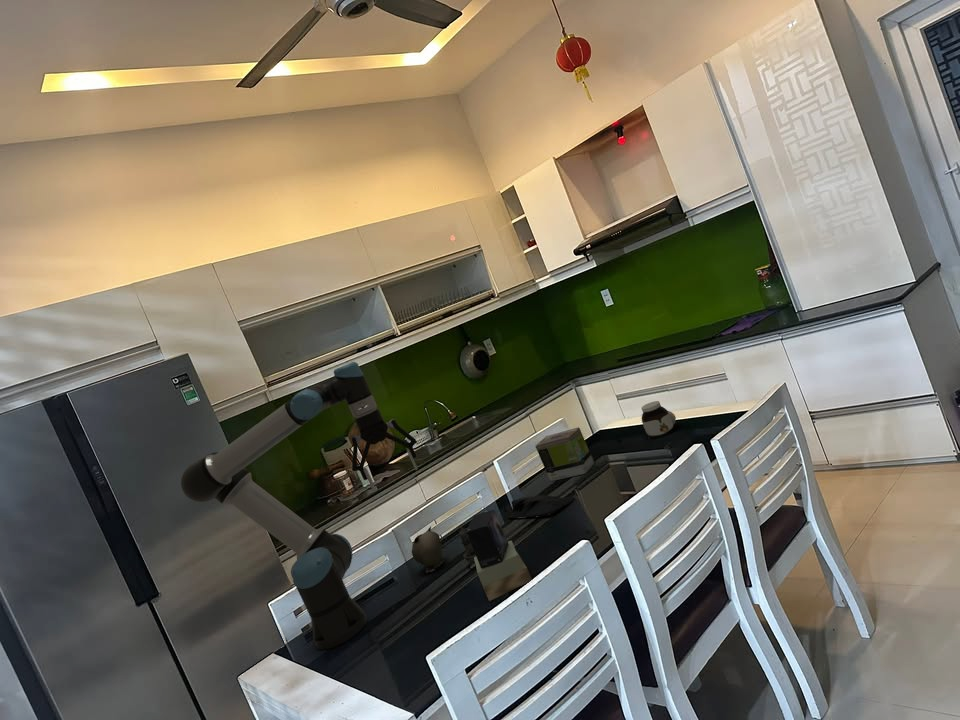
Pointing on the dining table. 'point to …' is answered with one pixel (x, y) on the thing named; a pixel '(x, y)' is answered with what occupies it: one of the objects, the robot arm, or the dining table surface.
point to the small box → (487, 538)
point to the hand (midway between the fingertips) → (395, 478)
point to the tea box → (565, 454)
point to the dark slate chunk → (538, 505)
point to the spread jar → (657, 419)
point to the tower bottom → (507, 583)
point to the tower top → (500, 567)
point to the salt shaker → (467, 546)
